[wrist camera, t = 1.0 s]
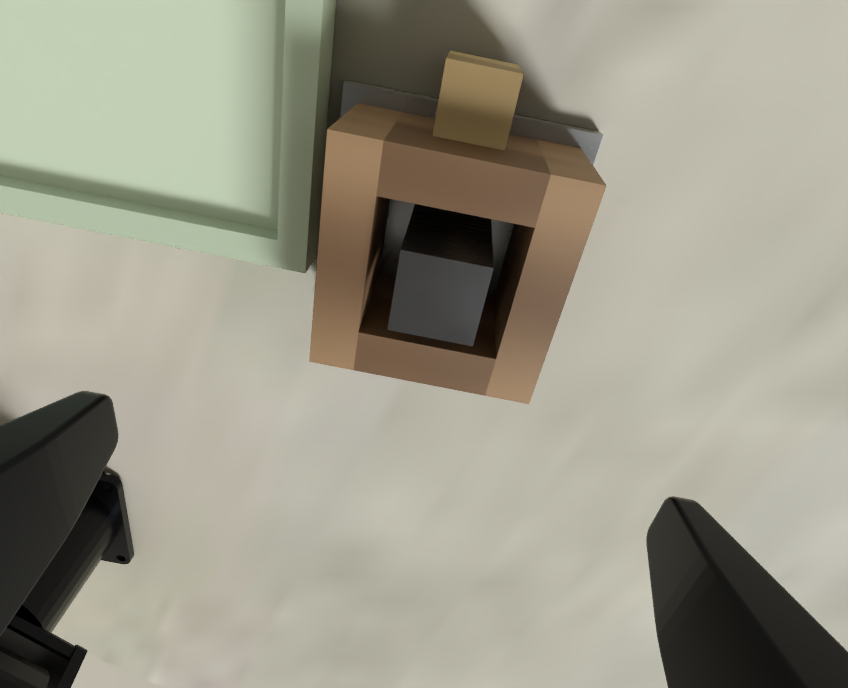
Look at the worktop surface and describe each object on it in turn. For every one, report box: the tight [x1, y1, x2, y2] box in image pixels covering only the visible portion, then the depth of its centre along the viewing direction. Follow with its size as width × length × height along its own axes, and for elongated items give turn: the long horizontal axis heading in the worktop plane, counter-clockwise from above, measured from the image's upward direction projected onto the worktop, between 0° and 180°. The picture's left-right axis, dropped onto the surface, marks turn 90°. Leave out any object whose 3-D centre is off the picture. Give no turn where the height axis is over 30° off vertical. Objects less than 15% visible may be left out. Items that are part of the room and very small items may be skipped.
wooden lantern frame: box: [309, 50, 606, 404], centre depth 17 cm, size 9×7×4 cm
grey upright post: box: [340, 80, 603, 346], centre depth 17 cm, size 8×8×6 cm
